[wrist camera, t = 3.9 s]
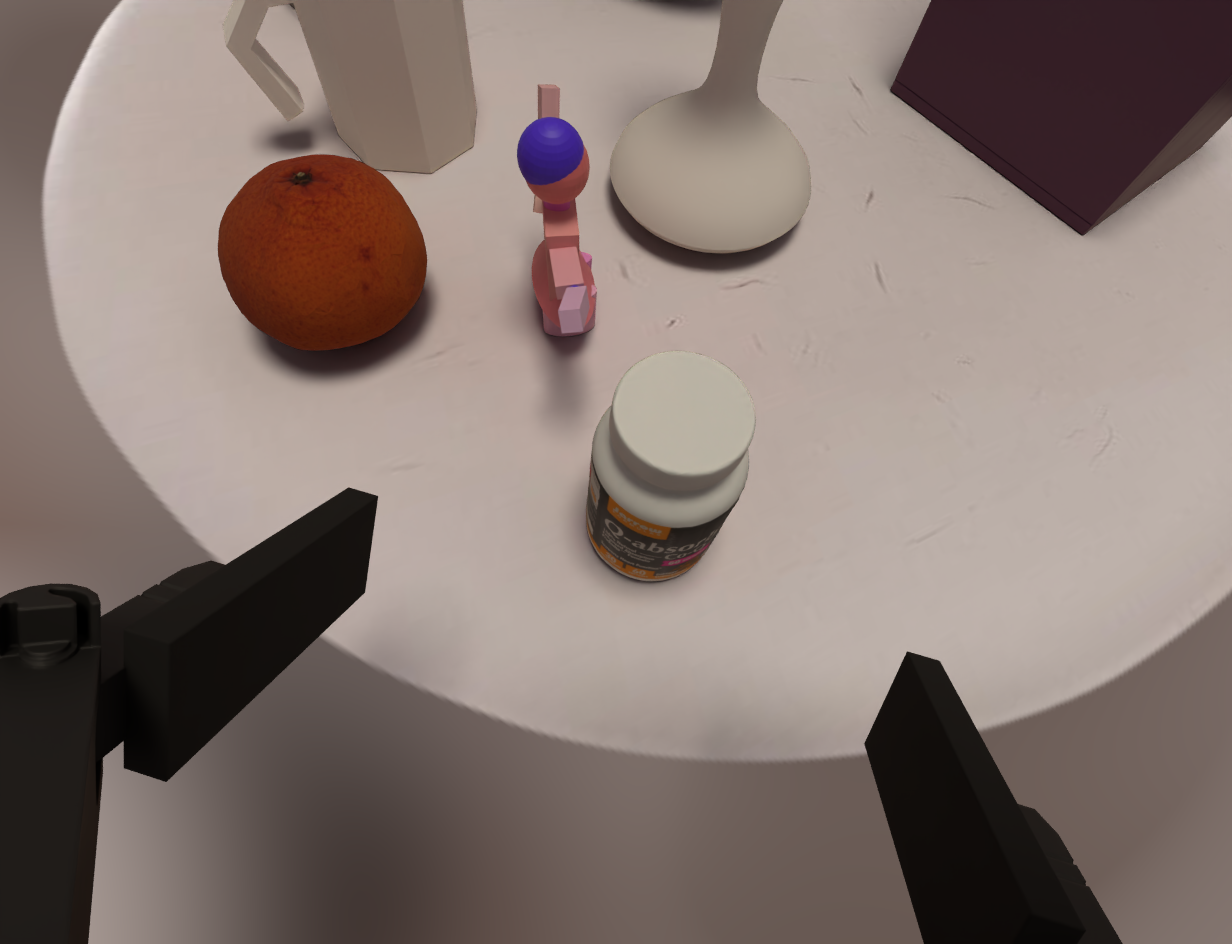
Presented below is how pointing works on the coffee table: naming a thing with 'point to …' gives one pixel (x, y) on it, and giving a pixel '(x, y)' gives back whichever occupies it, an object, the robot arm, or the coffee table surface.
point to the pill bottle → (668, 464)
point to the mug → (375, 74)
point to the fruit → (321, 252)
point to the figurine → (558, 218)
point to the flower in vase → (716, 152)
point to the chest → (1074, 91)
